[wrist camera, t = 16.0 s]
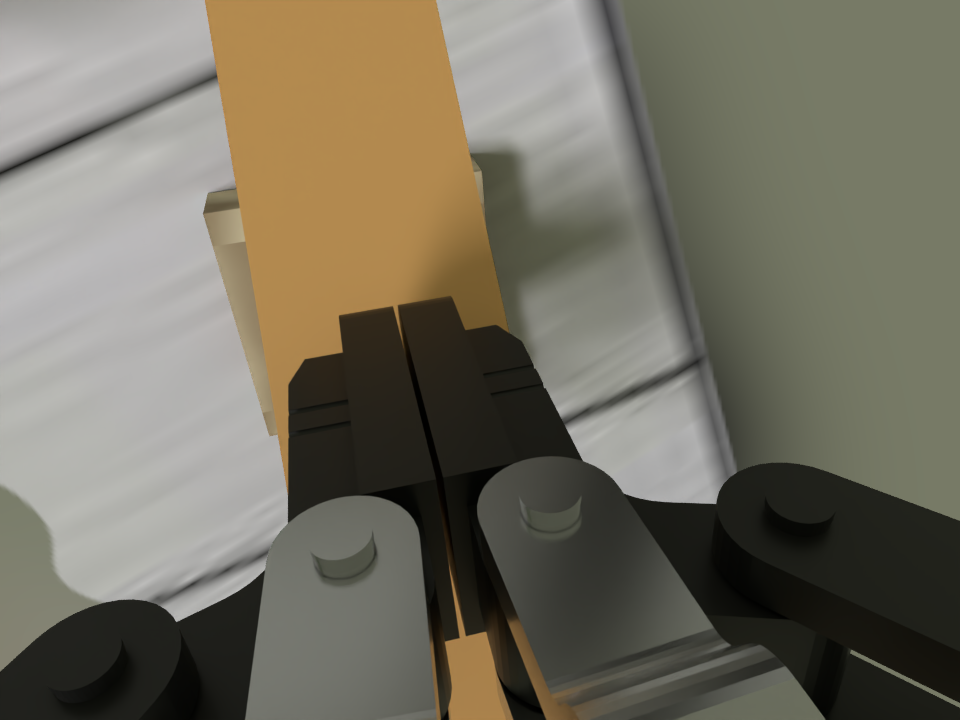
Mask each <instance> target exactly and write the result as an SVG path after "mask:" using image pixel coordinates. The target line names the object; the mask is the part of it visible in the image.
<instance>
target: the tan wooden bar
mask: <svg viewBox="0 0 960 720" xmlns="http://www.w3.org/2000/svg"><path fill="white" fill-rule="evenodd" d="M205 4H206V10H207V16H208V22H209V28H210V34H211V40H212V46H213V52H214V58H215V63H216V69H217V75H218V81H219V87H220V93H221V99H222V105H223V111H224V117H225V123H226V129H227V135H228V141H229V147H230V153H231V159H232V165H233V171H234V177H235V182H236V188H237V194H238V200H239V206H240V212H241V218H242V224H243V230H244V236H245V242H246V248H247V254H248V260H249V266H250V272H251V278H252V284H253V290H254V296H255V301H256V307H257V313H258V319H259V325H260V331H261V337H262V343H263V349H264V355H265V361H266V367H267V373H268V379H269V385H270V391H271V397H272V403H273V409H274V415H275V421H276V426H277V432H278V438H279V444H280V450H281V456H282V462H283V468H284V474H285V480H286V486H287V492H288V438H289V434H288V416H289V412H288V384H289V383H290V381H291V380H292V378H293V376H294V375H295V373H296V372H297V370H298V369H299V367H300V366H301V364H302V363H303V361H304V360H305V359H309V358H314V357H320V356H326V355H331V354H337V353H342V352H343V350H342V342H341V333H340V324H339V315H343V314H349V313H355V312H361V311H367V310H372V309H378V308H384V307H390V306H393V308H394V312H395V316H396V320H397V324H398V328H399V332H400V336H401V340H402V334H401V328H400V321H399V315H398V305H400V304H406V303H412V302H418V301H423V300H429V299H435V298H441V297H446V296H451V297H452V298H453V300H454V303H455V305H456V308H457V310H458V313H459V316H460V318H461V321H462V323H463V326H464V328H465V330H469V329H475V328H480V327H486V326H491V325H498V326H499V327H501V328H502V329H504V330H505V331H507V332H508V333H509V329H508V324H507V320H506V315H505V311H504V306H503V302H502V297H501V293H500V288H499V284H498V279H497V275H496V270H495V266H494V261H493V257H492V252H491V248H490V243H489V238H488V234H487V229H486V225H485V220H484V216H483V211H482V207H481V202H480V198H479V193H478V189H477V184H476V180H475V175H474V171H473V166H472V162H471V157H470V153H469V148H468V143H467V139H466V134H465V130H464V125H463V121H462V116H461V112H460V107H459V103H458V98H457V94H456V89H455V85H454V80H453V76H452V71H451V67H450V62H449V58H448V53H447V48H446V44H445V39H444V35H443V30H442V26H441V21H440V17H439V12H438V8H437V3H436V0H205ZM402 344H403V340H402ZM403 348H404V346H403ZM449 569H450V567H449ZM450 576H451V582H452V589H453V596H454V602H455V609H456V616H457V622H458V629H459V636H460V638H458V639H454V640H450V641H446V642H445V645H446V651H447V657H448V663H449V669H450V675H451V683H452V693H451V700H450V703H449V707H450V713H451V720H506V718H505V715H504V712H503V709H502V706H501V703H500V700H499V696H498V691H497V682H496V673H495V664H494V660H493V656H492V652H491V648H490V645H489V641H488V637H487V633H486V632H482V633H478V634H474V635H469V636H466V635H465V630H464V626H463V622H462V618H461V614H460V609H459V605H458V601H457V597H456V592H455V588H454V584H453V580H452V575H451V571H450Z"/></svg>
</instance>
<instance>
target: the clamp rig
mask: <svg viewBox="0 0 960 720" xmlns="http://www.w3.org/2000/svg"><path fill="white" fill-rule="evenodd" d="M470 157H471V162H472V166H473V171H474V175H475V180H476V184H477V189H478V193H479V198H480V202H481V207H482V211H483V216H484V220H485V225H486V218H485V206H484V194H483V181H482V171H481V169H480V168H479V166H478V165H477V163H476V162H475V160H474V159H473V158H472V156H471V155H470ZM203 215H204V218H205V222H206V225H207V228H208V232H209V235H210V238H211V242H212V245H213V248H214V252H215V255H216V259H217V262H218V265H219V269H220V272H221V275H222V279H223V282H224V285H225V289H226V292H227V295H228V299H229V302H230V305H231V309H232V312H233V315H234V319H235V322H236V325H237V329H238V332H239V336H240V339H241V342H242V346H243V349H244V352H245V356H246V359H247V362H248V366H249V369H250V372H251V376H252V379H253V382H254V386H255V389H256V392H257V396H258V399H259V402H260V406H261V409H262V412H263V416H264V419H265V423H266V426H267V429H268V433H269V436H273V435H278V432H277V426H276V421H275V415H274V409H273V403H272V397H271V391H270V385H269V379H268V373H267V367H266V361H265V355H264V349H263V343H262V337H261V331H260V325H259V319H258V313H257V307H256V301H255V296H254V290H253V284H252V278H251V272H250V266H249V260H248V254H247V248H246V242H245V236H244V230H243V224H242V218H241V212H240V206H239V200H238V194H237V189H234V190H227V191H221V192H214V193H208V195H207V199H206V204H205V208H204V212H203Z"/></svg>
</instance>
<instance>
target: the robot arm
mask: <svg viewBox="0 0 960 720" xmlns="http://www.w3.org/2000/svg"><path fill="white" fill-rule="evenodd" d="M398 315H399V321H400V328H401V334H402V340H403V344H402V340H401V336H400V332H399V328H398V324H397V320H396V316H395V312H394V308H393V306H390V307H384V308H378V309H372V310H367V311H361V312H355V313H349V314H343V315H339V324H340V333H341V342H342V350H343V352H342V353H337V354H331V355H326V356H320V357H314V358H309V359H305V360H304V361H303V363H302V364H301V366H300V367H299V369H298V370H297V372H296V373H295V375H294V376H293V378H292V380H291V381H290V383H289V384H288V412H289V416H288V434H289V438H288V524H287V525H286V526H285V527H284V528H283V529H282V530H281V531H280V533H279V534H278V535H277V537H276V538H275V540H274V541H273V543H272V545H271V548H270V550H269V553H268V557H267V561H266V568H265V570H264V571H263V572H262V573H261V574H260V575H259V576H258V577H257V578H256V579H254V580H253V581H252V582H251V583H250V584H248V585H247V586H245V587H244V588H242V589H241V590H239V591H238V592H236V593H234V594H233V595H231V596H229V597H227V598H225V599H223V600H221V601H219V602H217V603H215V604H213V605H211V606H209V607H207V608H205V609H203V610H201V611H199V612H197V613H195V614H193V615H190V616H188V617H186V618H184V619H182V620H180V621H178V622H176V621H175V619H174V618H173V616H172V615H171V614H170V613H169V612H168V611H167V610H165V609H164V608H162V607H160V606H158V605H157V604H154V603H150V602H147V601H142V600H117V601H111V602H106V603H102V604H99V605H95V606H92V607H89V608H87V609H84V610H82V611H80V612H77V613H75V614H73V615H71V616H69V617H68V618H66V619H64V620H62V621H60V622H59V623H57V624H56V625H54V626H53V627H51V628H50V629H48V630H47V631H46V632H44V633H43V634H42V635H41V636H39V637H38V638H37V639H36V640H35V641H33V642H32V643H31V644H30V645H29V646H28V647H27V648H26V649H25V650H24V651H22V652H21V653H20V654H19V655H18V656H17V657H16V658H15V659H14V660H13V661H11V662H10V663H9V664H8V665H7V666H6V667H5V668H4V669H3V670H2V671H1V672H0V720H451V713H450V707H449V703H450V700H451V693H452V683H451V675H450V669H449V663H448V657H447V651H446V645H445V642H446V641H450V640H454V639H458V638H460V636H459V629H458V622H457V616H456V609H455V602H454V596H453V589H452V582H451V576H450V571H451V575H452V580H453V584H454V588H455V592H456V597H457V601H458V605H459V609H460V614H461V618H462V622H463V626H464V630H465V635H466V636H469V635H474V634H478V633H482V632H486V633H487V637H488V641H489V645H490V648H491V652H492V656H493V660H494V664H495V673H496V682H497V691H498V696H499V700H500V703H501V706H502V709H503V712H504V715H505V718H506V720H960V708H959V707H957V706H955V705H953V704H951V703H949V702H947V701H945V700H943V699H941V698H939V697H937V696H935V695H933V694H931V693H929V692H927V691H925V690H923V689H921V688H919V687H917V686H914V685H913V684H911V683H909V682H906V681H904V680H902V679H900V678H898V677H896V676H894V675H892V674H890V673H888V672H886V671H884V670H882V669H880V668H878V667H876V666H874V665H872V664H870V663H868V662H866V661H864V660H862V659H860V658H858V657H856V656H854V655H852V654H850V651H851V650H854V651H856V652H858V653H860V654H862V655H864V656H866V657H868V658H870V659H872V660H874V661H876V662H878V663H880V664H882V665H884V666H886V667H888V668H890V669H892V670H894V671H896V672H898V673H900V674H902V675H904V676H906V677H908V678H910V679H912V680H914V681H916V682H919V683H920V684H922V685H924V686H927V687H929V688H931V689H933V690H935V691H937V692H939V693H941V694H943V695H945V696H947V697H949V698H951V699H953V700H955V701H957V702H959V703H960V521H958V520H956V519H953V518H950V517H948V516H945V515H942V514H940V513H937V512H934V511H931V510H929V509H926V508H923V507H921V506H918V505H915V504H913V503H910V502H907V501H905V500H902V499H899V498H897V497H894V496H891V495H888V494H886V493H883V492H880V491H878V490H875V489H872V488H870V487H867V486H864V485H862V484H859V483H856V482H853V481H851V480H848V479H845V478H842V477H840V476H837V475H835V474H832V473H829V472H826V471H824V470H820V469H817V468H814V467H810V466H805V465H800V464H792V463H768V464H760V465H756V466H752V467H748V468H746V469H744V470H741V471H739V472H737V473H736V474H734V475H733V476H731V477H730V478H729V479H728V480H727V481H726V482H725V483H724V484H723V486H722V488H721V489H720V491H719V494H718V498H717V503H716V504H699V503H671V502H657V501H649V500H644V499H639V498H636V497H632V496H629V495H626V494H624V493H623V492H622V490H621V489H620V488H619V486H618V485H617V484H616V482H615V481H614V480H613V479H612V478H611V477H610V476H609V475H608V474H606V473H605V472H604V471H602V470H601V469H599V468H597V467H596V466H593V465H591V464H589V463H586V462H584V461H583V460H582V458H581V456H580V455H579V453H578V451H577V449H576V447H575V445H574V443H573V441H572V439H571V437H570V435H569V433H568V431H567V429H566V427H565V425H564V423H563V421H562V419H561V417H560V415H559V413H558V411H557V410H556V408H555V406H554V404H553V402H552V400H551V398H550V396H549V394H548V392H547V390H546V388H544V386H543V382H542V380H541V378H540V376H539V374H538V372H537V370H536V369H534V366H533V363H532V361H531V359H530V357H529V355H528V353H527V351H526V349H525V347H524V345H523V343H522V341H520V340H519V339H517V338H516V337H514V336H513V335H511V334H510V333H508V332H507V331H505V330H504V329H502V328H501V327H499V326H498V325H491V326H486V327H480V328H475V329H469V330H465V328H464V326H463V323H462V321H461V318H460V316H459V313H458V310H457V308H456V305H455V303H454V300H453V298H452V297H451V296H446V297H441V298H435V299H429V300H423V301H418V302H412V303H406V304H400V305H398ZM403 346H404V348H403ZM449 567H450V569H449Z"/></svg>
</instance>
